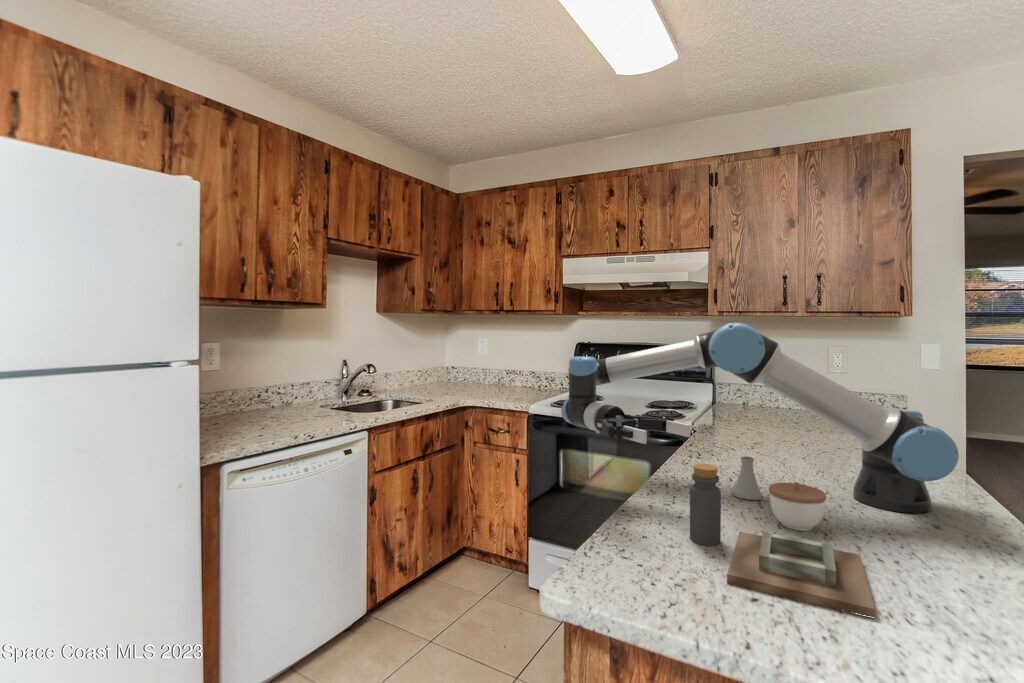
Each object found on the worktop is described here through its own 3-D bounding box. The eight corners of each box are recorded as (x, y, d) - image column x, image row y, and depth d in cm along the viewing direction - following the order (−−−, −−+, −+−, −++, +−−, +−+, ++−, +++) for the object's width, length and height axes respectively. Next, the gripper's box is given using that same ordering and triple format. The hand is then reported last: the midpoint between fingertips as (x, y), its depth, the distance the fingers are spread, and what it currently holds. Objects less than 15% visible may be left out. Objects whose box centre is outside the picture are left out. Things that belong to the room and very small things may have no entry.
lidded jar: (806, 539, 97) (806, 493, 97) (758, 521, 107) (758, 479, 107) (836, 529, 102) (836, 485, 102) (787, 512, 112) (788, 472, 112)
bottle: (684, 534, 100) (685, 463, 100) (711, 533, 100) (711, 462, 100) (697, 546, 94) (698, 471, 94) (726, 545, 95) (726, 470, 94)
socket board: (859, 562, 87) (860, 541, 87) (874, 619, 70) (875, 592, 70) (739, 538, 98) (739, 519, 98) (726, 582, 81) (727, 559, 80)
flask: (755, 492, 126) (756, 454, 126) (767, 501, 119) (768, 461, 119) (727, 491, 127) (727, 453, 127) (737, 500, 120) (737, 461, 120)
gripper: (640, 428, 130) (706, 444, 112) (565, 438, 118) (625, 458, 100) (640, 401, 130) (706, 412, 112) (565, 408, 118) (625, 422, 99)
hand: (668, 434), depth 105 cm, fingers open, 13 cm apart
